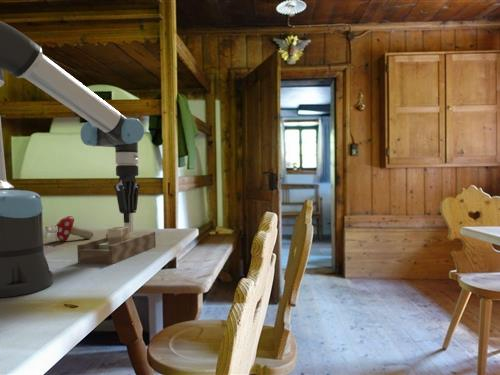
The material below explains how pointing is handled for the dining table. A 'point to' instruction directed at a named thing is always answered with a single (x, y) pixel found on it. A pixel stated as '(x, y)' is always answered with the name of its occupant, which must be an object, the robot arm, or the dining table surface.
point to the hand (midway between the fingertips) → (128, 231)
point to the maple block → (118, 235)
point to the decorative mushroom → (71, 229)
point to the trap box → (114, 249)
